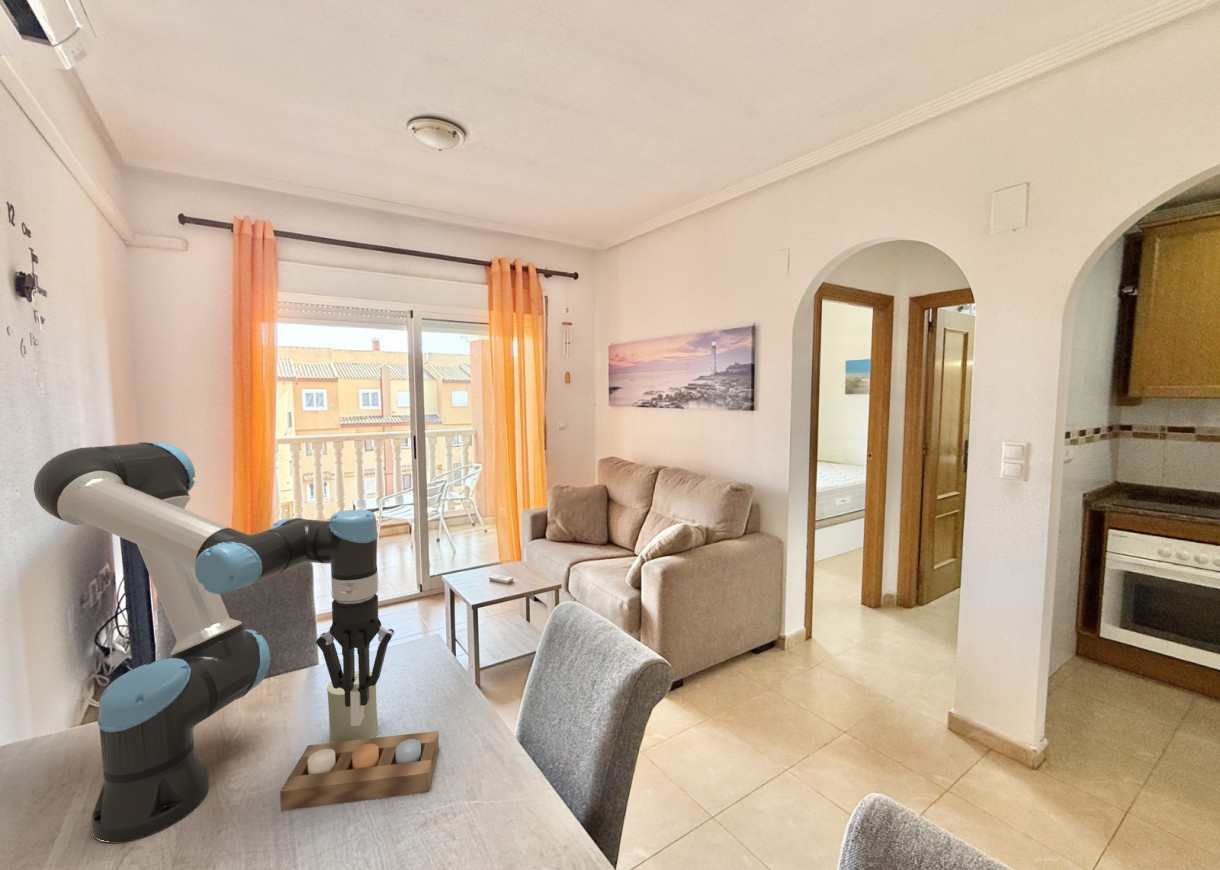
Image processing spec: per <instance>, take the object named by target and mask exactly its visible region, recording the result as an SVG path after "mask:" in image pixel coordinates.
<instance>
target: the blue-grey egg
mask: <svg viewBox="0 0 1220 870" xmlns="http://www.w3.org/2000/svg"><path fill="white" fill-rule="evenodd" d="M418 761H421V743H420V741H419V740H416V739H409V740H405V741H403V742H401V743H400V744H398V745H397V747H396V764H401V763H410V762H418Z"/></svg>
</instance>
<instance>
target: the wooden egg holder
mask: <svg viewBox="0 0 1220 870" xmlns="http://www.w3.org/2000/svg"><path fill="white" fill-rule="evenodd" d="M439 735H440V734H439V730H434V731H433V730H432V731H425V732H424V731H423V732H416V733H414V732H413V733H407V734H398V735H397V734H396V735H389V736H388V735H387V736H379V737H378V736H377V737H374V738H370V739H361V740H352V741H343V742H334V743H329V742H326V743H317V744H309V745H307V747H306V748H304V751H303V752H302V754H301V756H300V758H299V759H298V761H297V763H296V764H295V766H294V768H293V769H292V771H291V772H290V774H289V776H288V778H287V779H286V780H285V783H284V784H283V786H282V787H281V789H280V791H279V797H280V799H279V801H280V811H281V812H283V811H284V812H285V811H291V810H298V809H299V810H300V809H307V808H313V807H322V806H328V805H329V806H331V805H337V804H344V803H351V802H353V803H354V802H359V801H367V800H368V801H369V800H376V799H382V798H383V799H384V798H391V797H398V796H399V797H400V796H405V795H413V794H422V793H429V791H430V789H431V784H432V779H433V775H434V770H435V766H436V762H437V759H438V758H437V757H438V754H439V748H440V742H439V741H440V740H439V739H440V737H439ZM409 739H416V740H419V741H420V743H421V761H418V762H410V763H401V764H396V747H397V745H398V744H400V743H401V742H403V741H405V740H409ZM366 744H375V745H377V746H378V749H379V762H378V765H377V767H368V768H360V769H353V764H352V754H353V752H354V751H355V750H356V749H357V748H359V747H360V746H363V745H366ZM323 749H332V750H334V751H335V761H336V765H335V767H334V769H333V771H332V772H327V773H319V774H310V775H308V758H309V757H310V756H311V755H312V754H313V753H315V752H317V751H319V750H323Z"/></svg>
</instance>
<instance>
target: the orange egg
mask: <svg viewBox="0 0 1220 870" xmlns="http://www.w3.org/2000/svg"><path fill="white" fill-rule="evenodd" d="M378 762H379V749H378V746H377V745H375V744H366V745H363V746H360V747H359V748H357V749H356V750H355V751H354V752H353V754H352V764H353V769H360V768H368V767H377V765H378Z"/></svg>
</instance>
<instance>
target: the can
mask: <svg viewBox="0 0 1220 870" xmlns="http://www.w3.org/2000/svg"><path fill="white" fill-rule="evenodd" d="M371 674H372V671H370V676H371ZM355 679H356V680H355V682H354V685H355V684H359V670H356V671H355ZM326 691H327V701H328V702H327V703H328V722H329V727H328V728H329V739H328V743H334V742H343V741H352V740H361V739H370V738H376V736H377V735H378V733H379V725H378V708H377V707H378V706H377V703H378V702H377V684H376V685H374V686H369V700H368V702H367V704H366V705H364V718H363V720H362V722H361V724H360V726H351V707H346V706H345V691H344V690H343V689H342V688H337V689H335V688H334V687H333V685H332V682H331V681H330V682H329V683H328V685H327V687H326Z"/></svg>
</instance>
